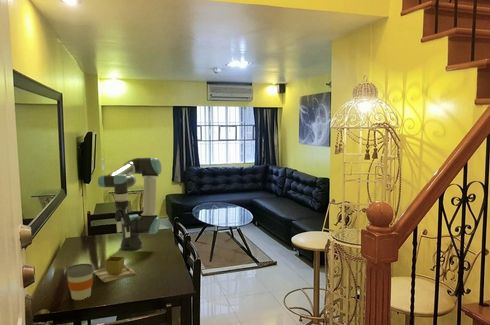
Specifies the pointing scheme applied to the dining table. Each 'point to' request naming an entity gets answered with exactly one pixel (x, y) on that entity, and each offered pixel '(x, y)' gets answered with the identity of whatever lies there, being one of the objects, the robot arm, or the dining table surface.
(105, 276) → the holder tray
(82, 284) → the reusable coffee cup
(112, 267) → the flower pot
